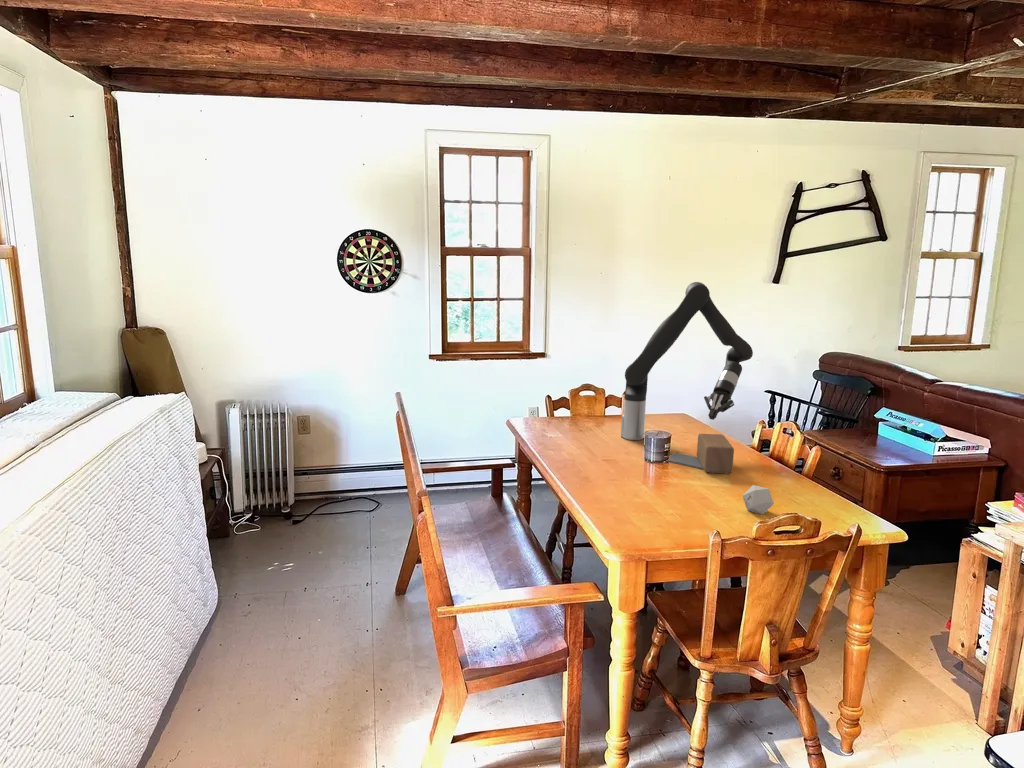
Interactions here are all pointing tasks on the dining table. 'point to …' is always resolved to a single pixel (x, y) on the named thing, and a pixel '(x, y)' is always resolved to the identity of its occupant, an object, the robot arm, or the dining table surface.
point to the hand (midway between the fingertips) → (711, 418)
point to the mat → (685, 460)
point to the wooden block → (715, 453)
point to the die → (758, 499)
